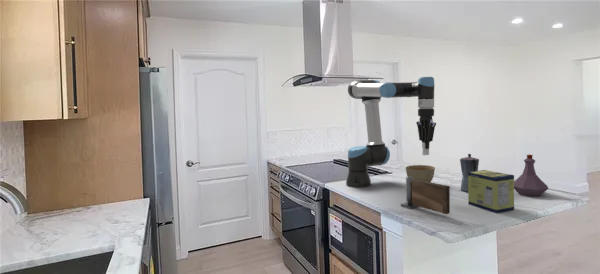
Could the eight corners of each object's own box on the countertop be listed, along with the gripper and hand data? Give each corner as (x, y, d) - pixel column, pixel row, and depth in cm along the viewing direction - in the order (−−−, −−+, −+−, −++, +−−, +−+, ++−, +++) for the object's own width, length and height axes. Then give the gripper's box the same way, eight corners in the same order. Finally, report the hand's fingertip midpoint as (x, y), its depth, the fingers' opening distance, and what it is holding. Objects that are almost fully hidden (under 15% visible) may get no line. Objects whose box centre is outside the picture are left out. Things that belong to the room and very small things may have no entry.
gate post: (400, 206, 156) (400, 176, 155) (409, 203, 159) (409, 175, 158) (410, 209, 151) (410, 179, 150) (419, 206, 154) (419, 177, 153)
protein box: (484, 201, 158) (484, 169, 157) (514, 210, 143) (515, 175, 142) (467, 204, 154) (467, 171, 153) (496, 213, 140) (497, 177, 139)
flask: (517, 188, 178) (518, 151, 176) (554, 194, 165) (555, 154, 163) (504, 194, 168) (504, 155, 167) (542, 200, 155) (542, 158, 154)
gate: (415, 203, 154) (414, 179, 153) (449, 213, 138) (449, 186, 137) (411, 204, 152) (411, 180, 151) (445, 214, 137) (445, 187, 136)
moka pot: (473, 187, 184) (473, 152, 183) (486, 194, 169) (486, 156, 167) (455, 187, 185) (455, 152, 184) (467, 194, 170) (467, 156, 168)
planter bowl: (403, 182, 203) (403, 165, 202) (431, 182, 201) (430, 164, 200) (408, 189, 187) (408, 170, 186) (438, 188, 185) (438, 169, 184)
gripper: (411, 108, 169) (411, 153, 172) (427, 108, 157) (427, 157, 159) (424, 107, 171) (424, 152, 174) (441, 108, 159) (440, 156, 161)
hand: (425, 154), depth 167 cm, fingers closed
